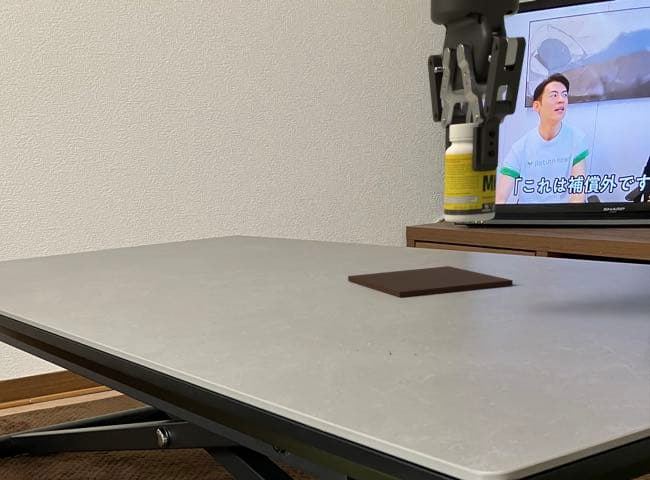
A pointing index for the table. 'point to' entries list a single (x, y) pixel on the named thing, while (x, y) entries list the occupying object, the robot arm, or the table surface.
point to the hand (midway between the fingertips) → (470, 170)
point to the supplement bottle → (466, 180)
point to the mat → (428, 281)
